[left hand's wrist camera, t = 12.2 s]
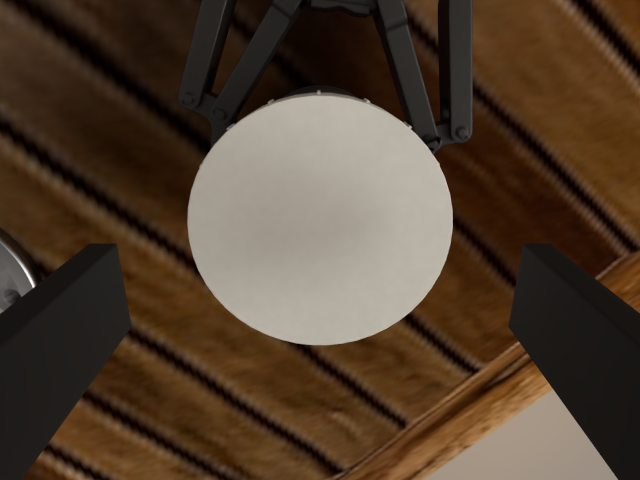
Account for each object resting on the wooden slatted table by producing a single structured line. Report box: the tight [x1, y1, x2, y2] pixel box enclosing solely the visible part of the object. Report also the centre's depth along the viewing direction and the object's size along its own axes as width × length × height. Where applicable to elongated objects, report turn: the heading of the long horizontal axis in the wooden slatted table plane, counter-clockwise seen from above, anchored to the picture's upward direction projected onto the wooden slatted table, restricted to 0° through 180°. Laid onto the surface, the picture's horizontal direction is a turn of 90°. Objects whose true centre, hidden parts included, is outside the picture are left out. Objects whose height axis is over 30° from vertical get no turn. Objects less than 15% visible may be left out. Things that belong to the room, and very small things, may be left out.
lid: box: [187, 90, 453, 345], centre depth 18 cm, size 10×10×2 cm
